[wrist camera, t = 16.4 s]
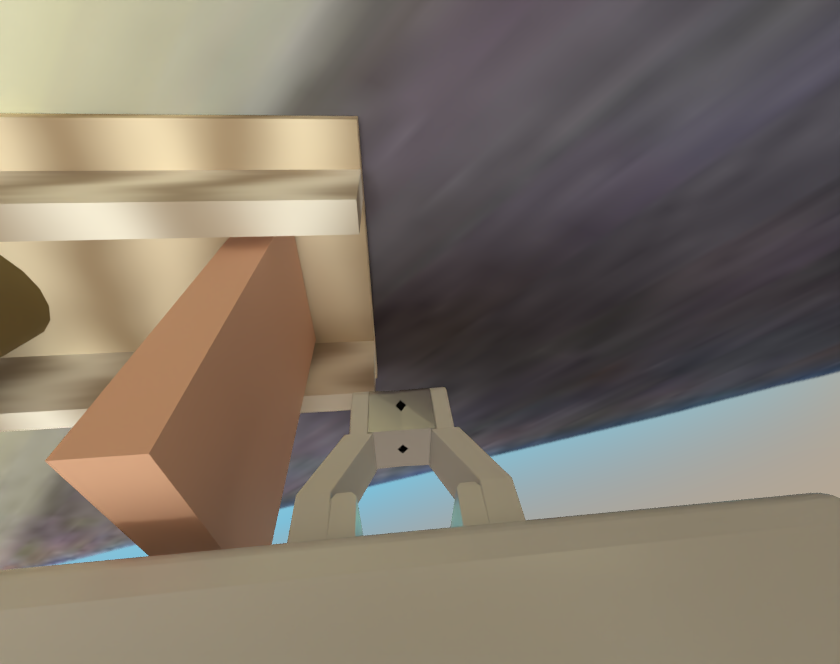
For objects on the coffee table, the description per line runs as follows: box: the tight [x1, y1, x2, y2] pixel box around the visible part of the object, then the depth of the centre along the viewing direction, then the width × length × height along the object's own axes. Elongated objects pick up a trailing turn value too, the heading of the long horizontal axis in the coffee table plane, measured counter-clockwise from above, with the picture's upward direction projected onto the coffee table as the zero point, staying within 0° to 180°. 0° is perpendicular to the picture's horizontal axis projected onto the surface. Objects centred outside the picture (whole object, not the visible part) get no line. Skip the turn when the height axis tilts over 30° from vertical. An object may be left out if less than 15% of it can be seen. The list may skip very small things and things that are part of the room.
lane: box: [0, 113, 377, 432], centre depth 16 cm, size 24×14×5 cm, turn 89°
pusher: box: [45, 236, 316, 556], centre depth 13 cm, size 2×7×12 cm, turn 179°
